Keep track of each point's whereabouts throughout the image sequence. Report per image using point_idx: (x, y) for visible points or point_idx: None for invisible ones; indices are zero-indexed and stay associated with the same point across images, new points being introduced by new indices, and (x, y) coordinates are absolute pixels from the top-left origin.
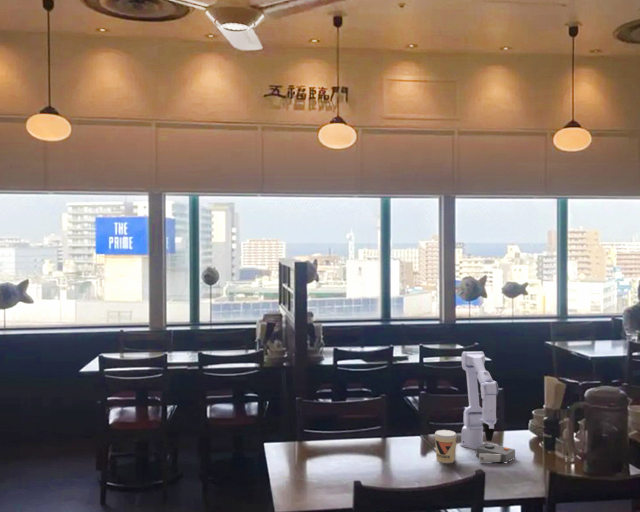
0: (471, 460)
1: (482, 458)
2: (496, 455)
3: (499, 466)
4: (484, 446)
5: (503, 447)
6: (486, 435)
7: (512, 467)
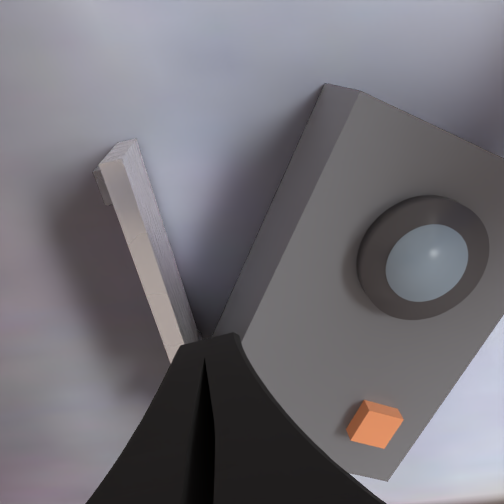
0: (167, 35)
1: (101, 191)
2: (167, 350)
3: (104, 334)
4: (408, 202)
5: (432, 390)
6: (144, 428)
7: (130, 423)
